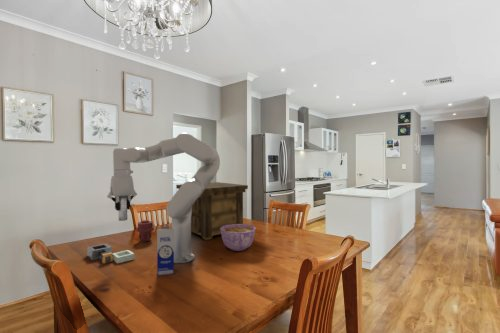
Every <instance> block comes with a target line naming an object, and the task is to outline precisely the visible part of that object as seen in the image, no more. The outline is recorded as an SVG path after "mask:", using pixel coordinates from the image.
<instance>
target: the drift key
mask: <svg viewBox="0 0 500 333" xmlns="http://www.w3.org/2000/svg"><path fill="white" fill-rule="evenodd" d="M112 253H113V252H112ZM112 253H111V252H110V253H106V252H105V251H102V252H99V259H100V260H101V263H102V264H108V263H111V262H112V263H113V260H112Z"/></svg>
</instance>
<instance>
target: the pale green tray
mask: <svg viewBox="0 0 500 333" xmlns="http://www.w3.org/2000/svg"><path fill="white" fill-rule="evenodd" d="M134 260H136V258H135V253H134V252H133V251H131V250H129V249H126V250H121V251H118V252H112V261H114V262H115V263H116V264H121V263H125V262H129V261H134Z"/></svg>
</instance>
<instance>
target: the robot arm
mask: <svg viewBox="0 0 500 333" xmlns="http://www.w3.org/2000/svg"><path fill="white" fill-rule="evenodd" d="M183 153H185V154H186V155H188V156H191V157H192V158H194V159H196V160H197V161H200V162H202V165H201V166H200V167H199V168H198V169H197V171H196V172H195V173H194V175H193V176H192V177H191V178H190V179H189V180H186V181H184V182H183V183H182V184H181V185H182V186H181V187H180V188H179V189H177V191H176V193H175V194H173V196H172V197H171V199H169V201H168V203H167V205H166V213H167V215H168V217H169V218H171V229H172V228H174V264H185V263H188V262H189V263H190V262H192V261H193V260H194V259H195V254H193V253H192V252H193V251H192V233H191V215H192V205H193V204H194V202H195V201H196V200H197V199H198V197H200V196H201V195H202V193H203V191H204V190H205V189H206V187H207V186H208V185H209V183H212V180H214V178H215V177H216V175H217V174H218V172H219V169H220V167H221V166H220V165H221V160H220V159H221V158H220V155H219V153H218V151H217V149H216V148H215V147H213V146H211V145H209V144H207V143H206V142H203V141H202V140H200V139H198V138H196V137H195V136H193V135H192V134H190V133H188V132H182V133H179V134H178V135H177V136H175V137H174V136H173V137H169V138H166V139H162V140H160V141H159V142H158V143H156V144H154V145H151V146H146V147H128V148H125V147H119V148H118V147H117V148H114V149H113V152H112V154H113V156H112V158H113V161H112V162H113V175H112V176H111V179H110V186H109V187H110V190H109V192H108V194H107V196H106V197H107V199H110V200H111V201H113V202H114V209H115V210H116V211H119V210H120V203H119V196H127V210H130V208H131V201H132V200H133V199H134V198H136V196H137V195H138V193H137V192H136V190H135V186H134V181H133V180H134V179H133V175H132V174H133V173H134V170H132V169H131V163H132V164H133V163H134V164H135V163H136V164H140V163H142V164H143V163H147V162H152V161H156V160H160V159H163V158H168V157H172V156H177V155H180V154H183Z"/></svg>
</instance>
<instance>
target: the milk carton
mask: <svg viewBox="0 0 500 333" xmlns="http://www.w3.org/2000/svg"><path fill="white" fill-rule="evenodd" d="M156 240H157V241H156V244H157V245H156V248H157V250H156V252H157V254H156V255H157V262H156V263H157V264H156V266H157V268H156V269H157V271H156V272H157V274H156V275H157V276H158V277H159V276H166V275H174V274H175V272H174V271H175V268H174V267H175V263H174V228H172V227H171V228H170V226H162V228H159V229H156Z"/></svg>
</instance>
